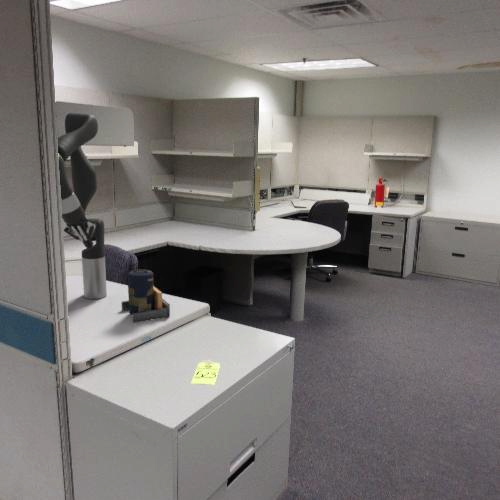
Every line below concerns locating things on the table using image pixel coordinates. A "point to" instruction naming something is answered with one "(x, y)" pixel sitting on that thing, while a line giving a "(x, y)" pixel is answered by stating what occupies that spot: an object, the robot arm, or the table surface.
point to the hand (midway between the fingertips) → (90, 247)
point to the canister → (140, 290)
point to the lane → (148, 312)
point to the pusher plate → (157, 299)
